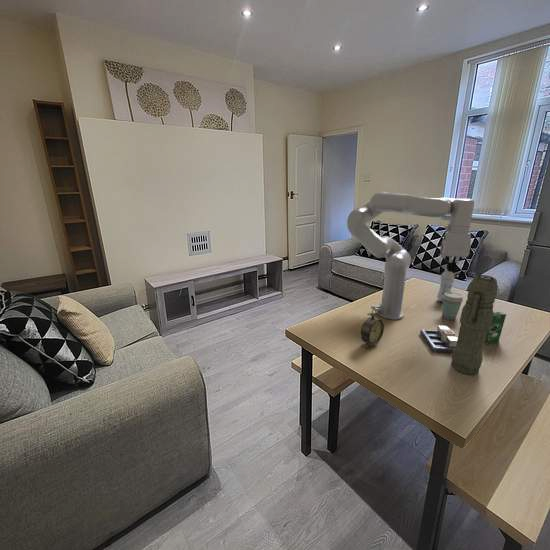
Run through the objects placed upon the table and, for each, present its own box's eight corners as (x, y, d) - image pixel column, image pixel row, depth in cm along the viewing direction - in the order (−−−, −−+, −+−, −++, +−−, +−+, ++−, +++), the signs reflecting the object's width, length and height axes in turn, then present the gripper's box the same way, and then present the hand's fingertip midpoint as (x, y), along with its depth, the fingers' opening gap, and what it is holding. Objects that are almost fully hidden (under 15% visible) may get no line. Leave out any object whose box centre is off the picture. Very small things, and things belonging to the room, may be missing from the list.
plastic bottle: (452, 303, 159) (459, 269, 153) (439, 303, 159) (446, 269, 153) (445, 299, 165) (452, 265, 159) (434, 299, 165) (440, 265, 159)
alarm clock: (368, 351, 116) (372, 315, 111) (356, 346, 120) (360, 310, 115) (383, 342, 123) (387, 307, 117) (371, 337, 127) (375, 303, 121)
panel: (432, 352, 115) (434, 341, 113) (420, 333, 129) (421, 323, 127) (462, 354, 114) (465, 343, 112) (446, 335, 128) (448, 324, 126)
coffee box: (493, 338, 125) (500, 310, 121) (499, 341, 122) (507, 313, 118) (478, 341, 123) (485, 313, 119) (484, 344, 120) (492, 316, 116)
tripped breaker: (443, 342, 119) (446, 332, 118) (440, 338, 122) (442, 328, 121) (453, 343, 119) (455, 333, 117) (449, 339, 122) (452, 329, 120)
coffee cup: (453, 313, 148) (458, 291, 144) (462, 321, 140) (467, 298, 136) (436, 313, 148) (440, 291, 145) (443, 320, 140) (448, 298, 137)
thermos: (482, 365, 107) (505, 275, 96) (475, 381, 99) (499, 285, 88) (454, 356, 113) (473, 270, 102) (446, 370, 105) (465, 278, 93)
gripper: (443, 230, 119) (435, 273, 124) (482, 231, 117) (473, 274, 122) (435, 227, 126) (429, 267, 131) (473, 228, 124) (464, 269, 130)
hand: (450, 270), depth 127 cm, fingers closed
